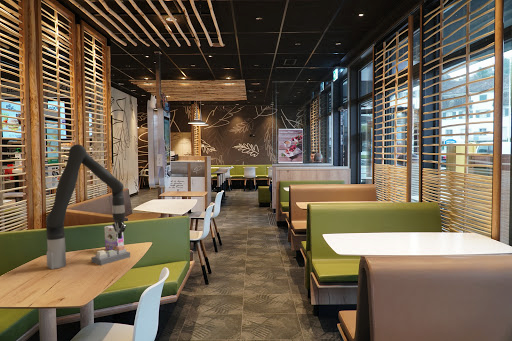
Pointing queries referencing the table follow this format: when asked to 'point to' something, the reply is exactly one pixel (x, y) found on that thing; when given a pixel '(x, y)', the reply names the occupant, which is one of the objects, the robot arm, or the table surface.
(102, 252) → the cream button
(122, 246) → the terracotta button
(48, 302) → the table surface
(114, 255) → the button board
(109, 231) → the candy box
